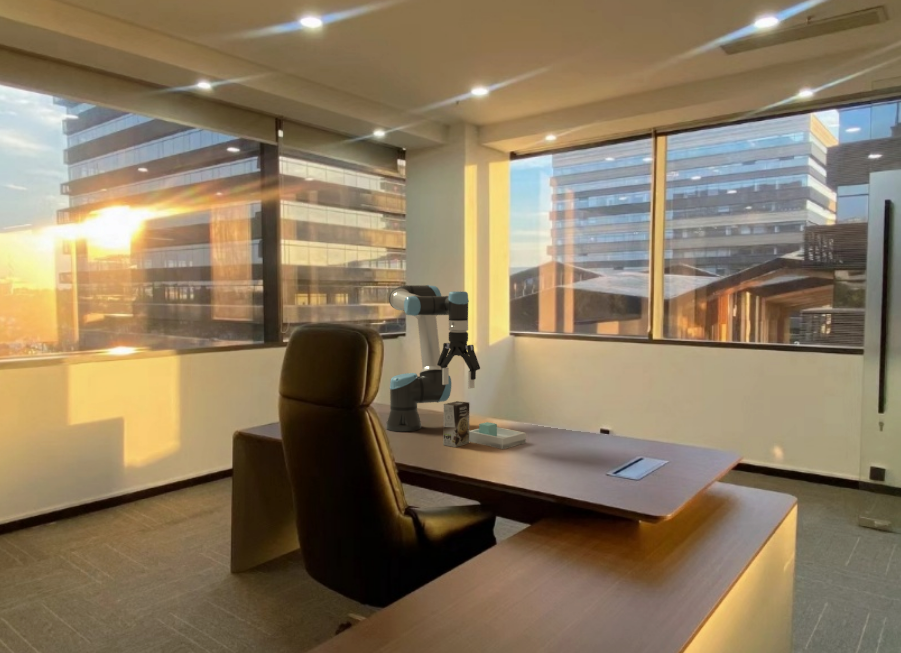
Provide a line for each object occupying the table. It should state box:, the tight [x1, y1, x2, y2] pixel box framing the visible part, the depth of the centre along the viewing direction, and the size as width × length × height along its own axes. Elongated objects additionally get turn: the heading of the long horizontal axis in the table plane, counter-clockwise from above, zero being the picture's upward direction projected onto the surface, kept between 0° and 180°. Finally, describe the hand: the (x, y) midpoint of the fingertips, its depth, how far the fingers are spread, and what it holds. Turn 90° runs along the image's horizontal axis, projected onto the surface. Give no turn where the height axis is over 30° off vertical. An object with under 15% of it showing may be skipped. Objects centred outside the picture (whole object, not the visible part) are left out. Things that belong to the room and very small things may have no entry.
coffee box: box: [442, 400, 470, 448], centre depth 243 cm, size 9×6×16 cm
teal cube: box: [478, 421, 498, 436], centre depth 250 cm, size 5×5×5 cm
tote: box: [469, 426, 527, 450], centre depth 246 cm, size 18×14×4 cm
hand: (458, 386), depth 242 cm, fingers open, 13 cm apart
